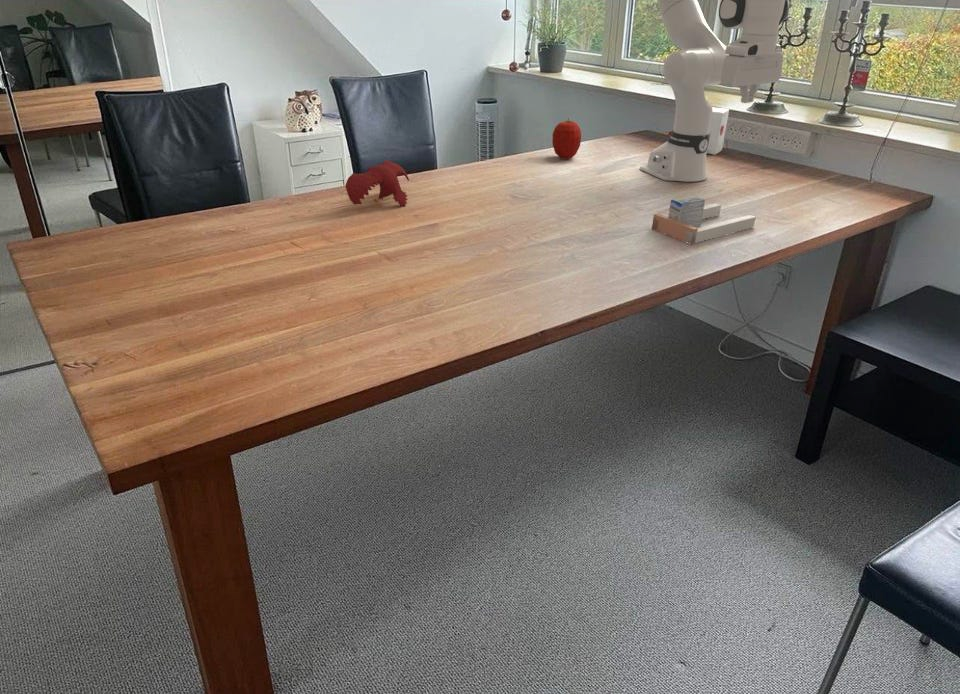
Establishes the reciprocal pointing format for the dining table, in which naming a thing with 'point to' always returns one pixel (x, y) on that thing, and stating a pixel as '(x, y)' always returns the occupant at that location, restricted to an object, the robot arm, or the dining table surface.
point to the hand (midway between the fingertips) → (746, 102)
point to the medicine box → (687, 210)
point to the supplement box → (717, 130)
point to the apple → (566, 139)
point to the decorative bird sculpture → (377, 175)
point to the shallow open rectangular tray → (701, 233)
